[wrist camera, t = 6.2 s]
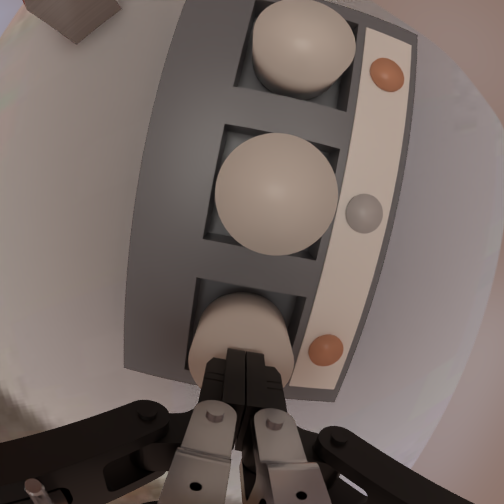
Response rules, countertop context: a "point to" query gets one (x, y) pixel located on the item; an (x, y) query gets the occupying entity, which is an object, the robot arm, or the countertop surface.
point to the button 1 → (241, 334)
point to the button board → (204, 182)
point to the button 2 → (301, 48)
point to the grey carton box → (73, 15)
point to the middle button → (276, 194)
